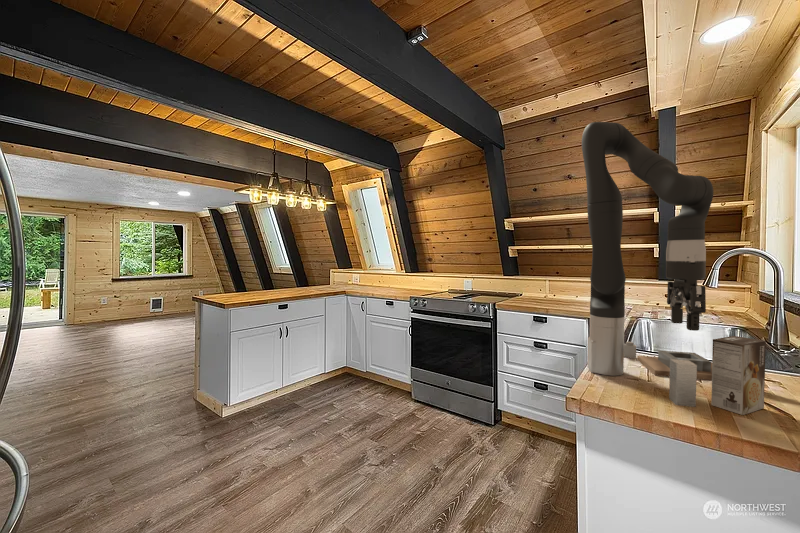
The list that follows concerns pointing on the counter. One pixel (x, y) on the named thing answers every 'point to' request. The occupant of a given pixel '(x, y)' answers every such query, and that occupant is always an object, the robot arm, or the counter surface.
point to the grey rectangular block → (629, 350)
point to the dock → (665, 369)
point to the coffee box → (738, 374)
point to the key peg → (683, 382)
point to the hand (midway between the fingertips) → (684, 326)
